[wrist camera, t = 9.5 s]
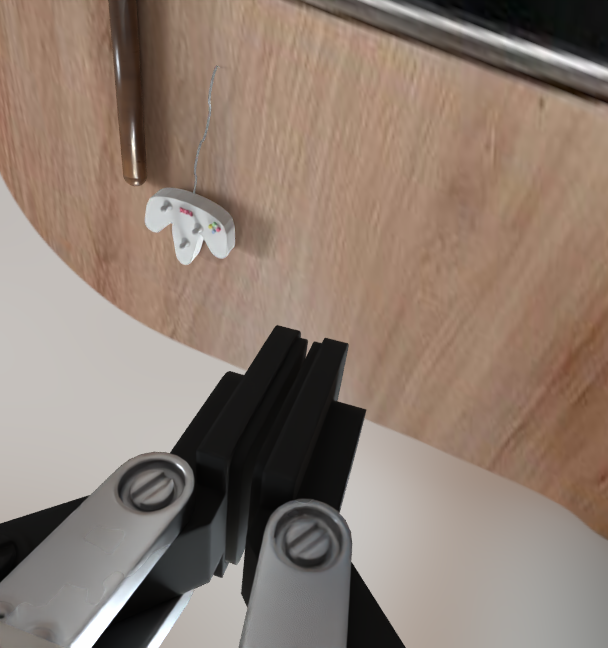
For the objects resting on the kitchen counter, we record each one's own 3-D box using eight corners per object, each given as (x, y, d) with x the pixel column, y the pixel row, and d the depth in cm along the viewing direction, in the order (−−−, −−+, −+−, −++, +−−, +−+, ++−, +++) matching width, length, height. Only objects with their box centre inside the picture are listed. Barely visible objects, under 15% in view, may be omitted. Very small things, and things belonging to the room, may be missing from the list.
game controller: (165, 254, 34) (144, 270, 32) (129, 66, 28) (101, 70, 26) (242, 261, 33) (225, 278, 31) (221, 65, 27) (199, 68, 25)
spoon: (71, -194, 23) (50, -205, 22) (165, -187, 22) (149, -198, 21) (108, 175, 32) (95, 181, 31) (175, 190, 31) (164, 196, 30)
